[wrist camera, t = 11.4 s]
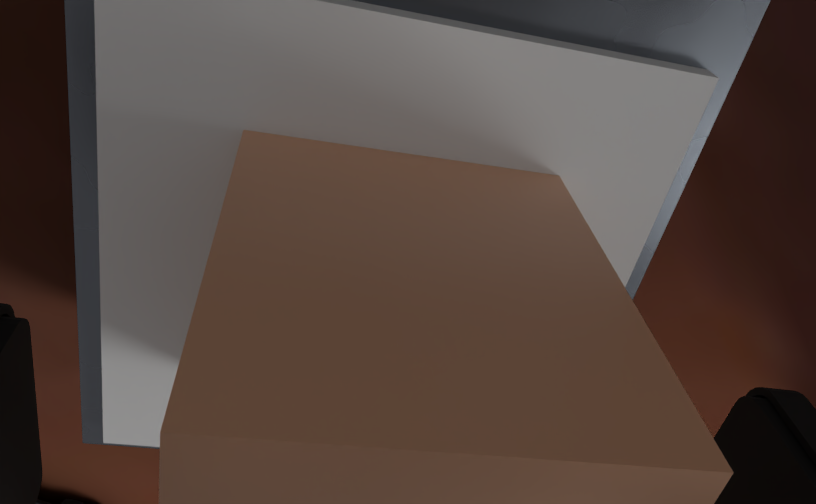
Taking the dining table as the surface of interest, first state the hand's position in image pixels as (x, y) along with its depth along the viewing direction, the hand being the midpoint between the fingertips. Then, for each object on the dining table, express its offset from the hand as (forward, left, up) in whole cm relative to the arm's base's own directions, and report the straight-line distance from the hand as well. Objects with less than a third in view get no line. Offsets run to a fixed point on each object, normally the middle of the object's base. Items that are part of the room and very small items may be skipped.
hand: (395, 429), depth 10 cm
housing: (0, 0, -3) cm, 3 cm away
